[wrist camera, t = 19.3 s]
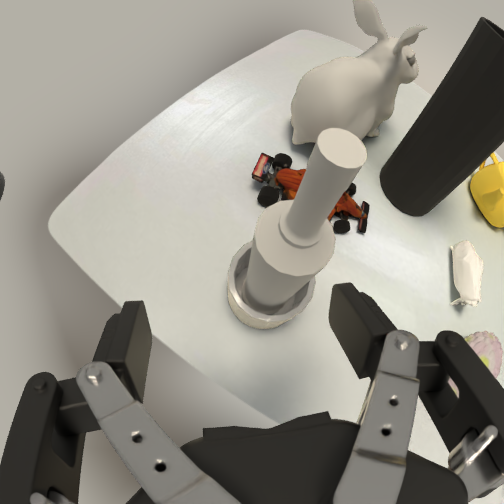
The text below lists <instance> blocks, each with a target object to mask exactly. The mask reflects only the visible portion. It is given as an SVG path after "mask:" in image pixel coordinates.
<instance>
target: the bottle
mask: <svg viewBox="0 0 504 504" xmlns="http://www.w3.org/2000/svg"><path fill="white" fill-rule="evenodd" d="M366 159H367V151H366V148H365V146H364V144H363V143H362V142H361V141H360V139H359V138H358V137H357V136H355V135H354V134H352V133H351V132H349V131H346V130H343V129H340V128H329V129H326V130H323V131H322V132H321V133H320V135H319V136H318V138H317V141H316V143H315V146H314V148H313V151H312V153H311V156H310V158H309V161H308V163H307V168H306V172H305V174H304V177H303V179H302V181H301V184H300V186H299V189H298V191H297V194H296V196H295V198H294V200H285V201H279V202H277V203H275V204H273V205H271V206H269V207H267V208H266V210H265V211H264V212H263V213H262V214H261V215H260V217H259V218H258V221H257V224H256V228H255V232H254V238H253V243H252V249H251V255H250V260H249V266H248V272H247V277H246V279H245V280H244V283H243V286H242V297H243V301H244V303H245V304H247V305H248V306H249V307H250V308H252V309H253V310H254V311H256V312H260V313H263V314H266V315H271V314H274V313H276V312H277V311H279V310H281V309H282V308H283V307H284V305H285V304H286V302H287V301H288V299H289V298H291V297H292V296H293V295H294V294H295V293H296V292H297V291H298V290H300V289H301V288H302V287H303V286H304V285H305V284H306V283H307V282H309V281H310V280H311V279H312V278H313V277H314V276H315V275H316V274H317V273H318V272H320V271H321V270H322V269H323V268H324V267H325V266H326V265H327V263H328V262H329V260H330V258H331V257H332V255H333V254H334V247H335V240H336V239H335V235H334V231H333V228H332V225H331V223H330V222H329V220H328V219H327V217H328V216H329V214H330V213H331V211H332V210H333V208H334V207H335V205H336V204H337V202H338V201H339V199H340V197H341V196H342V194H343V193H344V191H346V190H347V189H348V187H349V186H350V184H351V183H352V181H353V180H354V178H355V177H356V175H357V173H358V172H359V170H360V169H361V167H362V166H363V164H364V163H365V161H366Z"/></svg>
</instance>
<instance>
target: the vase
mask: <svg viewBox="0 0 504 504" xmlns="http://www.w3.org/2000/svg"><path fill="white" fill-rule="evenodd" d="M503 142H504V31H503V30H502V29H501V28H499V27H498V26H497V25H495V24H494V23H492V22H491V21H490V20H488V19H486V18H484V17H481V18H480V20H479V21H478V23H477V25H476V27H475V28H474V30H473V32H472V33H471V35H470V37H469V39H468V40H467V42H466V44H465V45H464V47H463V49H462V50H461V52H460V53H459V55H458V57H457V58H456V60H455V62H454V63H453V65H452V67H451V68H450V70H449V71H448V73H447V74H446V76H445V77H444V79H443V81H442V82H441V84H440V85H439V87H438V88H437V90H436V92H435V93H434V94H433V96H432V97H431V99H430V100H429V102H428V103H427V105H426V106H425V108H424V109H423V111H422V112H421V114H420V115H419V117H418V118H417V120H416V121H415V123H414V124H413V125H412V127H411V128H410V130H409V131H408V133H407V134H406V136H405V137H404V138H403V140H402V141H401V143H400V144H399V145H398V147H397V148H396V150H395V151H394V153H393V154H392V155H391V157H390V158H389V159H388V161H387V162H386V164H385V165H384V166H383V168H382V170H381V174H380V179H381V186H382V188H383V190H384V192H385V194H386V196H387V197H388V199H389V200H390V201H391V202H392V203H393V205H394V206H396V207H397V208H398V209H400V210H401V211H402V212H404V213H407V214H409V215H412V216H422V215H424V214H426V213H428V212H429V211H430V210H432V209H433V208H434V207H435V206H436V205H437V204H438V203H440V202H441V201H442V200H443V199H444V198H445V197H446V196H447V195H449V194H450V193H451V192H452V191H453V190H454V189H455V188H456V187H457V186H459V185H460V184H461V183H462V182H463V181H464V180H465V179H466V178H467V177H468V176H469V175H470V174H471V173H472V172H474V171H475V170H476V169H477V168H478V167H479V166H480V165H481V164H482V163H483V162H484V161H485V160H486V159H487V158H488V157H489V156H490V155H491V154H492V153H493V152H494V151H495V150H496V149H497V148H498V147H499V146H500V145H501V144H502V143H503Z"/></svg>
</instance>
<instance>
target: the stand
mask: <svg viewBox="0 0 504 504" xmlns="http://www.w3.org/2000/svg"><path fill="white" fill-rule="evenodd" d="M252 243H253V241H251V242H249V243H247V244H245V245H243V246H242V247H241V249H240V250H239V251H238V252H237V253H236V254H235V255H234V256H233V258H232V261H231V264H230V267H229V270H228V282H227V291H228V302H229V305H230V307H231V309H232V311H233V313H234V314H235V315H236V317H237V318H238V319H239V320H240V321H242V322H243V323H244V324H246V325H248V326H250V327H253V328H257V329H271V328H276V327H278V326H280V325H282V324H283V323H285V322H287V321H288V320H290V319H291V318H293V317H294V316H296V315H297V314H299V313H300V312H302V311H303V309H304V308H305V307H306V305H307V304H308V303H309V301H310V300H311V299H312V296H313V291H314V287H315V283H316V282H315V276H314V277H313V278H312V279H311V280H310V281H309V282H307V283H306V284H305V285H304V286H303V287H302V288H301V289H300V290H298V291H297V292H296V293H295V294H294V295H293V296H292V297H291V298H289V299H288V301H287V302H286V304H285V305H284V307H283V308H282V309H281V310H279V311H277V312H276V313H274V314H271V315H266V314H263V313H260V312H256V311H254V310H253V309H252V308H250V307H249V306H248V305H247V304H245V303H244V301H243V297H242V286H243V283H244V280H245V279H246V277H247V272H248V266H249V260H250V255H251V249H252Z"/></svg>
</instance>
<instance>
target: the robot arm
mask: <svg viewBox="0 0 504 504" xmlns="http://www.w3.org/2000/svg"><path fill="white" fill-rule="evenodd" d="M329 323H330V326H331V328H332V330H333V332H334V334H335V336H336V337H337V339H338V341H339V343H340V345H341V346H342V348H343V350H344V352H345V354H346V356H347V357H348V359H349V361H350V363H351V365H352V367H353V368H354V370H355V372H356V374H357V376H358V378H359V379H362V378H366V377H370V379H371V382H370V385H369V388H368V391H367V394H366V397H365V400H364V403H363V406H362V409H361V412H360V414H359V417H358V420H357V422H356V423H353V422H350V421H345V420H338V419H331V418H330V415H329V413H328V411H326V412H322V413H317V414H312V415H307V416H302V417H298V418H295V419H293V420H290V421H288V422H286V423H283V424H280V425H278V426H275V427H273V428H269V429H260V428H249V427H238V426H230V427H217V428H203V437H201V438H198V439H195V440H193V441H190V442H188V443H186V444H184V445H183V446H181V447H180V448H179V447H178V446H177V445H176V444H175V443H174V442H173V441H172V440H171V439H170V437H169V436H168V435H167V434H166V433H165V432H164V431H163V430H162V428H161V427H160V426H159V425H158V424H157V423H156V421H155V420H154V419H153V418H152V417H151V415H150V414H149V413H148V412H147V411H146V410H145V408H144V407H143V406H142V404H141V403H143V397H144V389H145V382H146V376H147V369H148V363H149V357H150V351H151V346H152V334H151V328H150V325H149V321H148V317H147V313H146V309H145V305H144V302H143V301H126V302H125V303H124V305H123V308H122V311H121V313H120V314H114V315H113V316H112V317H111V318H110V319H109V320H108V321H107V323H106V325H105V328H104V332H103V333H102V336H101V339H100V341H99V344H98V347H97V349H96V352H95V355H94V358H93V361H92V362H91V363H88V364H86V365H84V366H83V367H82V368H81V369H80V370H79V371H78V373H77V376H76V377H75V378H72V379H67V380H62V381H57V380H56V378H55V377H54V375H52V374H51V373H48V372H41V373H38V374H36V375H34V376H32V377H31V378H30V379H29V380H28V382H27V384H26V386H25V388H24V391H23V394H22V396H21V399H20V402H19V405H18V407H17V410H16V413H15V416H14V419H13V422H12V425H11V428H10V431H9V435H8V438H7V442H6V445H5V449H4V453H3V456H2V460H1V464H0V504H78V496H79V484H80V473H81V465H82V455H83V449H84V442H85V435H86V432H91V431H96V430H101V429H102V430H103V432H104V434H105V435H106V437H107V439H108V440H109V442H110V443H111V445H112V446H113V448H114V449H115V451H116V452H117V454H118V455H119V456H120V458H121V460H122V461H123V462H124V464H125V465H126V467H127V468H128V469H129V471H130V472H131V474H132V475H133V476H134V477H135V479H136V480H137V481H138V483H139V484H140V485H141V488H140V489H139V490H138V491H137V493H136V494H135V495H134V496H133V497H132V498H131V499H130V500H129V501H128V502H127V503H126V504H468V502H470V501H471V500H473V499H475V498H482V497H485V496H486V495H488V494H489V493H491V492H492V491H493V490H495V489H496V488H498V487H499V486H500V485H502V484H503V483H504V389H503V387H502V386H501V385H500V383H499V382H498V381H497V379H496V378H495V377H494V376H493V374H492V373H491V372H490V370H489V369H488V368H487V366H486V365H485V364H484V363H483V361H482V360H481V359H480V358H479V356H478V355H477V354H476V353H475V351H474V350H473V349H472V348H471V347H470V345H469V344H468V343H467V342H466V341H465V339H464V338H463V337H462V336H461V335H459V334H458V333H456V332H453V331H441V332H440V333H438V335H437V337H436V339H435V341H419V340H418V339H417V337H416V336H415V335H413V334H412V333H410V332H408V331H404V330H397V328H396V327H395V326H394V324H393V323H392V322H391V321H390V319H389V318H388V317H387V316H386V315H385V313H384V312H382V310H381V308H380V307H379V306H377V304H376V302H375V301H374V300H373V299H372V298H371V297H370V296H368V295H366V294H365V293H363V292H359V291H358V290H357V289H356V288H355V286H354V285H353V284H352V283H342V284H335V285H334V286H333V288H332V294H331V302H330V308H329ZM450 378H451V379H452V380H453V382H454V383H455V385H456V386H457V388H458V391H459V398H458V397H457V395H456V394H455V392H454V390H453V389H452V387H451V386H450V384H449V383H448V381H449V379H450ZM418 395H419V397H420V399H421V401H422V402H423V404H424V406H425V408H426V410H427V411H428V413H429V415H430V417H431V419H432V421H433V422H434V424H435V426H436V428H437V430H438V432H439V434H440V436H441V437H442V439H443V441H444V443H445V445H446V447H447V449H448V451H449V453H450V454H449V457H448V465H449V467H448V468H445V467H443V466H440V465H438V464H436V463H434V462H432V461H429V460H427V459H425V458H423V457H421V456H419V455H417V454H415V453H413V452H411V451H409V450H408V446H409V441H410V437H411V432H412V427H413V422H414V416H415V411H416V405H417V398H418Z"/></svg>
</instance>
